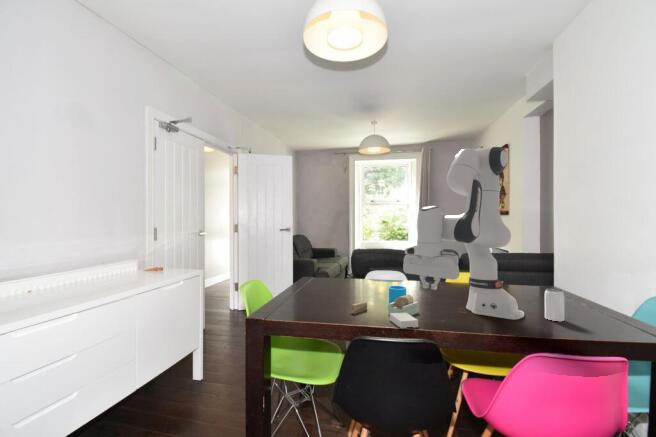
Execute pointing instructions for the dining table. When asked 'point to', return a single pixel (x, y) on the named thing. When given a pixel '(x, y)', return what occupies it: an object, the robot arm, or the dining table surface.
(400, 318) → the slab
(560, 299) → the can
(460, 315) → the dining table surface
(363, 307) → the wooden brick
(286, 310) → the dining table surface
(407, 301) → the roller
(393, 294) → the mug
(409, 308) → the cradle
